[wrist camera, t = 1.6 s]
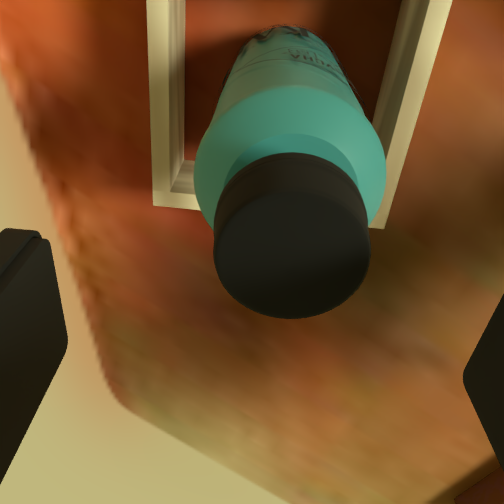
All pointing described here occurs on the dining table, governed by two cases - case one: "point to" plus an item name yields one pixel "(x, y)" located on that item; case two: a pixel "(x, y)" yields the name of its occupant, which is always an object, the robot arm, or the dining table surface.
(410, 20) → the wooden frame
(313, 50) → the beverage bottle
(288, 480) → the dining table surface
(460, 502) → the hardcover book
